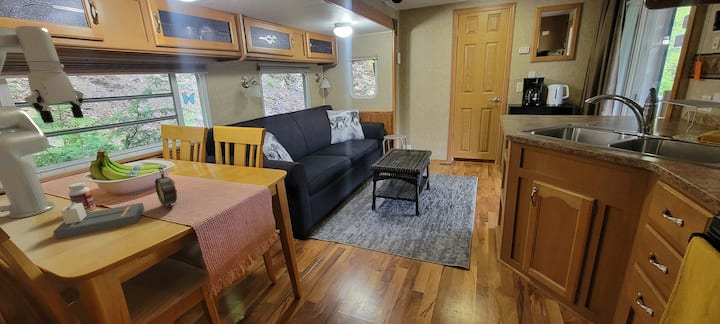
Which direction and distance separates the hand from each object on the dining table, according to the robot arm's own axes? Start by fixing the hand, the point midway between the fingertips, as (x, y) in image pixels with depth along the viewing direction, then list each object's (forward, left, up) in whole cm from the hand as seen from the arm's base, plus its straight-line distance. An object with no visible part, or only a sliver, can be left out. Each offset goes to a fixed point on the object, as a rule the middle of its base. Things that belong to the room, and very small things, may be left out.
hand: (64, 120), depth 101 cm
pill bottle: (-7, +9, -37) cm, 38 cm away
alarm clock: (+24, -4, -37) cm, 44 cm away
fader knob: (-3, -9, -33) cm, 35 cm away
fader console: (+4, -9, -37) cm, 38 cm away
